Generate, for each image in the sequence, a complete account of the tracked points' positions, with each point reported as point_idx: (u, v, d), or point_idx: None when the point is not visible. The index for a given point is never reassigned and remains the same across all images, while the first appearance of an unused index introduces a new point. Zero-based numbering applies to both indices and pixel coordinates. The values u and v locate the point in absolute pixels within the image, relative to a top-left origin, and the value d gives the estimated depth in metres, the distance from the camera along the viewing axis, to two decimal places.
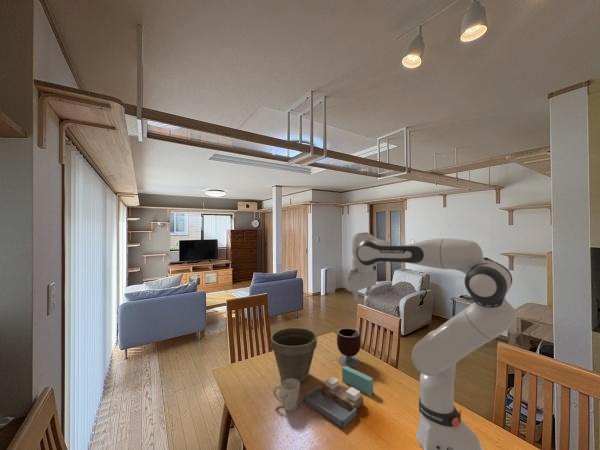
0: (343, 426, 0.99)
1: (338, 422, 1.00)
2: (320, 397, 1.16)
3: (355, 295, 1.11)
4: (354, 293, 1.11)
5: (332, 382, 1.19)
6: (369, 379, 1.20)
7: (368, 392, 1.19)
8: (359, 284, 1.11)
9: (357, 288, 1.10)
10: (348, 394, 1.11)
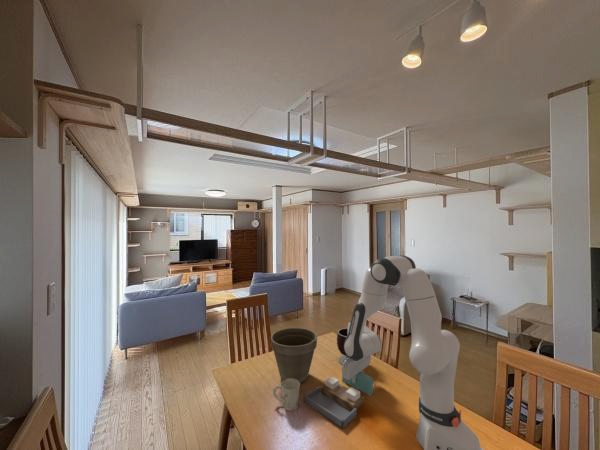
0: (343, 426, 0.99)
1: (338, 422, 1.00)
2: (320, 397, 1.16)
3: (353, 378, 1.23)
4: (352, 377, 1.23)
5: (332, 382, 1.19)
6: (369, 379, 1.20)
7: (368, 392, 1.19)
8: (353, 371, 1.21)
9: (352, 375, 1.20)
10: (348, 394, 1.11)
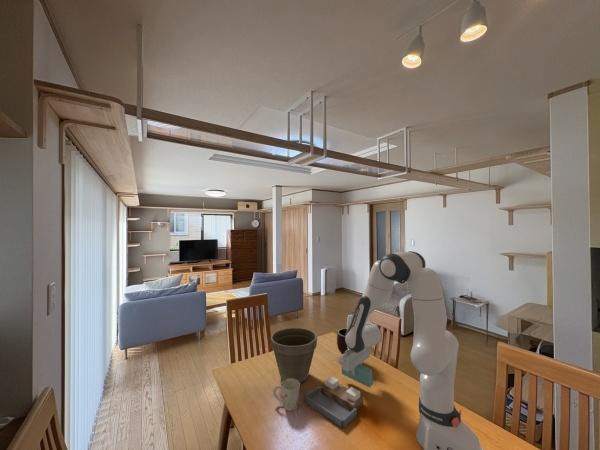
0: (343, 426, 0.99)
1: (338, 422, 1.00)
2: (320, 397, 1.16)
3: (352, 371, 1.23)
4: (352, 369, 1.22)
5: (332, 382, 1.19)
6: (368, 371, 1.20)
7: (367, 384, 1.19)
8: (353, 363, 1.20)
9: (351, 367, 1.19)
10: (348, 394, 1.11)
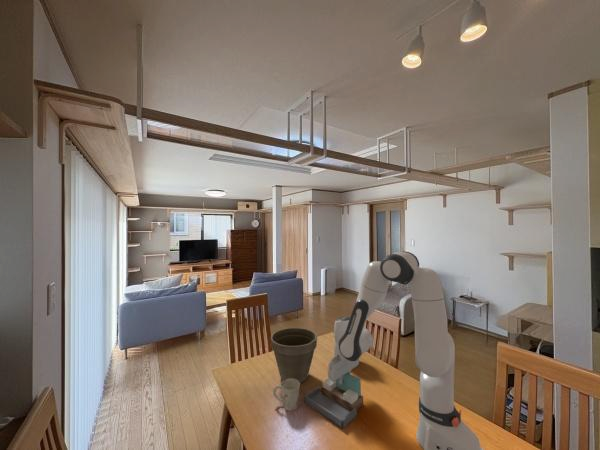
0: (343, 426, 0.99)
1: (338, 422, 1.00)
2: (320, 397, 1.16)
3: (340, 379, 1.16)
4: (339, 378, 1.15)
5: (329, 383, 1.18)
6: (356, 380, 1.12)
7: None
8: (340, 372, 1.13)
9: (338, 376, 1.12)
10: (345, 396, 1.10)
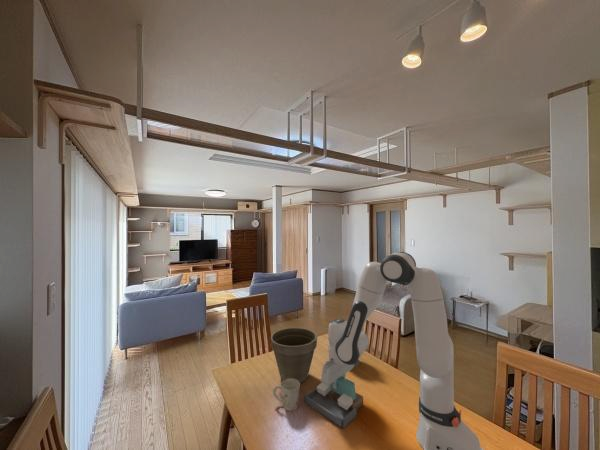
0: (343, 426, 0.99)
1: (338, 422, 1.00)
2: (320, 397, 1.16)
3: (334, 383, 1.13)
4: (333, 382, 1.12)
5: (323, 388, 1.15)
6: (350, 384, 1.09)
7: None
8: (334, 376, 1.10)
9: (332, 380, 1.09)
10: (340, 402, 1.07)
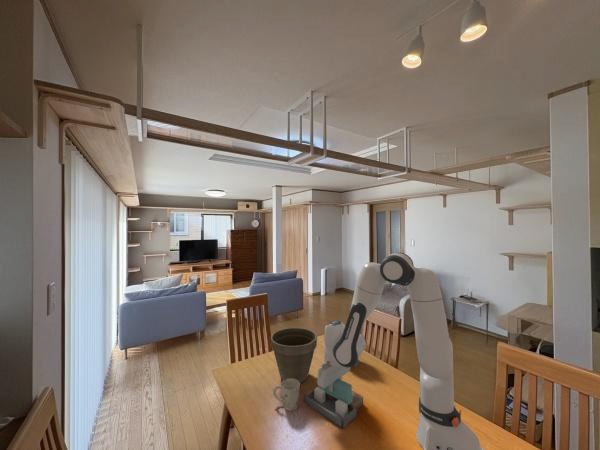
0: (343, 426, 0.99)
1: (338, 422, 1.00)
2: None
3: (330, 387, 1.11)
4: (329, 385, 1.10)
5: (319, 399, 1.14)
6: (347, 386, 1.08)
7: (346, 401, 1.07)
8: (330, 379, 1.08)
9: (328, 383, 1.07)
10: None
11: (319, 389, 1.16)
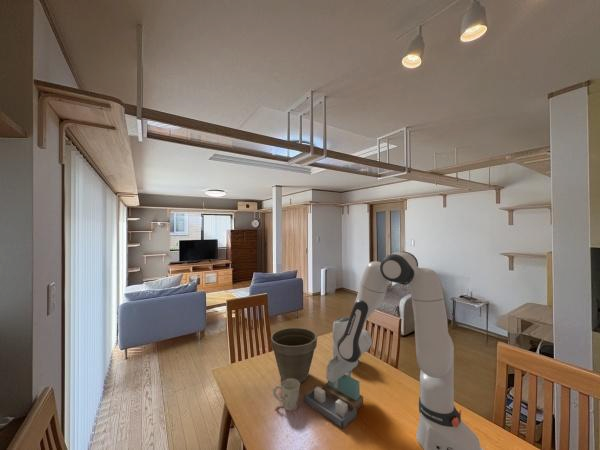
0: (343, 426, 0.99)
1: (338, 422, 1.00)
2: None
3: (335, 383, 1.13)
4: (334, 381, 1.13)
5: (319, 399, 1.14)
6: (355, 382, 1.11)
7: (354, 396, 1.11)
8: (338, 373, 1.12)
9: (336, 378, 1.11)
10: None
11: (319, 389, 1.16)
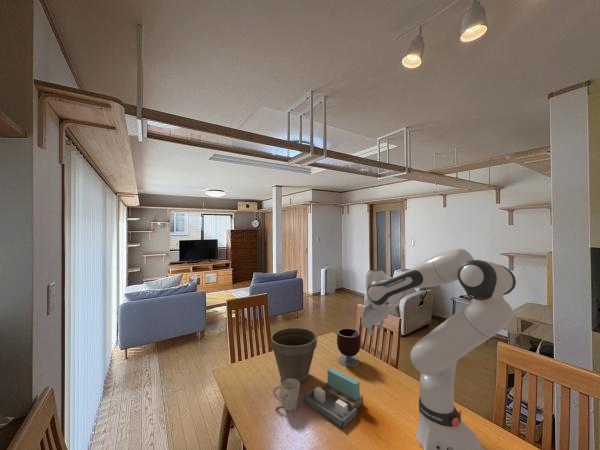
0: (343, 426, 0.99)
1: (338, 422, 1.00)
2: None
3: (369, 330, 1.17)
4: (368, 328, 1.17)
5: (319, 399, 1.14)
6: (355, 382, 1.11)
7: (354, 396, 1.11)
8: (373, 320, 1.17)
9: (371, 324, 1.16)
10: None
11: (319, 389, 1.16)
